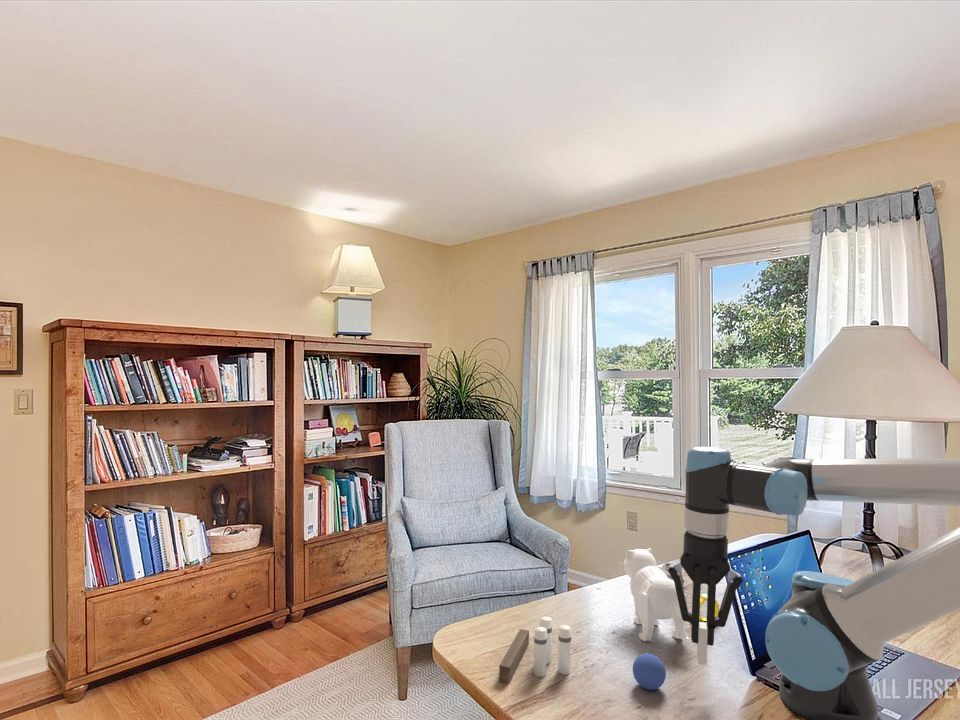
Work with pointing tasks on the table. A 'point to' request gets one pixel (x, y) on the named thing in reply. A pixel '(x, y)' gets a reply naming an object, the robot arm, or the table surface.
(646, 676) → the ball
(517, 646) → the back wall
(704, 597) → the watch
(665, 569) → the mineral rock
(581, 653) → the table surface
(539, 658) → the pin
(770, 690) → the table surface
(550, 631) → the pin
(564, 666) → the front pin
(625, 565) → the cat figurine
